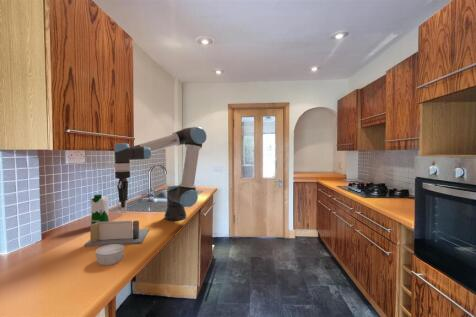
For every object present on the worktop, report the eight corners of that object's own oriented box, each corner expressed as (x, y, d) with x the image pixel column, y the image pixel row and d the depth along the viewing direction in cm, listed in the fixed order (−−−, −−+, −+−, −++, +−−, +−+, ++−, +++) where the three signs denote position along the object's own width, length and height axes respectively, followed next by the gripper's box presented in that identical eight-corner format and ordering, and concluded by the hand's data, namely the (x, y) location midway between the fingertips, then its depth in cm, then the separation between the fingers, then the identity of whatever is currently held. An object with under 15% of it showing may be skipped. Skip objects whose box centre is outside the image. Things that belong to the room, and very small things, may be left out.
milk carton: (88, 228, 150) (88, 195, 149) (98, 223, 159) (98, 193, 158) (102, 228, 149) (101, 195, 148) (111, 224, 158) (111, 193, 158)
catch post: (98, 242, 126) (98, 223, 125) (96, 244, 123) (96, 224, 123) (92, 243, 125) (92, 223, 125) (90, 244, 123) (90, 225, 123)
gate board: (149, 230, 146) (149, 228, 146) (141, 243, 125) (141, 241, 125) (100, 232, 142) (100, 230, 141) (84, 246, 121) (84, 244, 121)
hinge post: (139, 238, 132) (139, 220, 132) (138, 240, 129) (138, 222, 129) (133, 239, 131) (133, 220, 131) (132, 241, 128) (132, 222, 128)
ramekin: (113, 267, 99) (113, 255, 99) (88, 265, 101) (88, 253, 101) (129, 256, 110) (129, 244, 110) (107, 254, 112) (107, 243, 112)
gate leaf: (132, 237, 131) (132, 220, 130) (131, 238, 129) (131, 221, 128) (95, 238, 128) (95, 221, 127) (94, 240, 126) (94, 222, 125)
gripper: (119, 170, 142) (120, 210, 143) (111, 172, 129) (112, 216, 130) (132, 169, 143) (133, 209, 144) (126, 171, 131) (127, 215, 132)
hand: (123, 212), depth 137 cm, fingers closed
